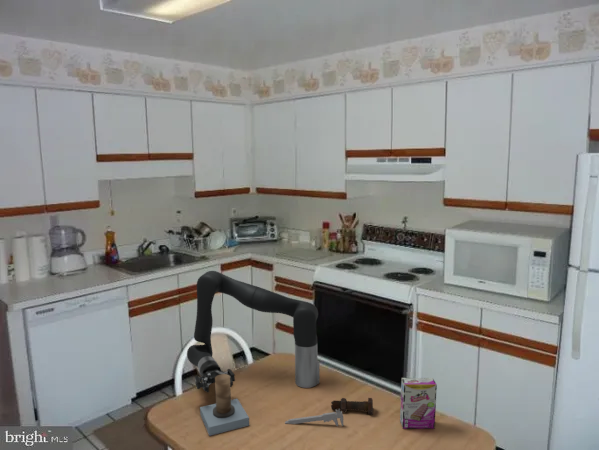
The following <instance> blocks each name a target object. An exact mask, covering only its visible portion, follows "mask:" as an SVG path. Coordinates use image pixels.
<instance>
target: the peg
mask: <svg viewBox="0 0 599 450" xmlns="http://www.w3.org/2000/svg"><path fill="white" fill-rule="evenodd" d="M214 386H215V404H216V407H214V409H213V415H214V416H215V417H217V418H227V417H230V416H232V415H233V414H234V412H235V408H234V406H233V405H231V400H232V395H231V394H232V392H231V387H230V376H229V375H227V374H220V375H217V376H216V377H215V383H214Z"/></svg>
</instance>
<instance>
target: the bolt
mask: <svg viewBox="0 0 599 450" xmlns="http://www.w3.org/2000/svg"><path fill="white" fill-rule="evenodd" d="M330 404H331V405H330V408H331V409H332V410H339V409H340V412H341V411H342V413H346V412H347V411H361V412H368V416H372V415H373V414H374V406H373V405H374V402H373V398H372V397H368V399H367V401H366V400H364V401H363V400H362V401H357V400H355V401H353V400H347V398H346V397H341V399H340V400H339V399H338V400H337V399H335V400H332V401H331V403H330Z"/></svg>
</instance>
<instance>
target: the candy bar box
mask: <svg viewBox="0 0 599 450" xmlns="http://www.w3.org/2000/svg"><path fill="white" fill-rule="evenodd" d="M400 384H401V385H400V388H401V389H400V411H399V413H400V414H399V418H400V419H399V421H400V424H401V427H402V429H403V430H404V429H405V430H406V429H407V430H408V429H409V430H410V429H411V430H412V429H413V430H414V429H420V430H421V429H422V430H425V429H426V430H427V429H428V430H429V429H432V430H433V429H435V428H436V427H435V426H436V412H437V411H436V409H437V407H436V406H437V405H436V403H437V391H438V390H437V389H438V387H437V386H438V385H437V383H436V381H435V379H434V377H401V381H400Z"/></svg>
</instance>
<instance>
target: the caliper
mask: <svg viewBox="0 0 599 450" xmlns="http://www.w3.org/2000/svg"><path fill="white" fill-rule="evenodd" d="M338 419H340V423H341V427H343V426H344V414H343V412H342V411H341V410H340V409H335V411H333V412H326V413H322V414H319V415H310V416H304V417H296V418H290V419H289V418H288V420H285V421H284V424H285V425H287V424H289V425H297V424H305V423H311V422H312V423H313V422H319V421H320V422H321V421H323V423H327V422H328V423H329V422H331V421H333V422H334V423H335V426H336V427H339V420H338Z"/></svg>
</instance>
